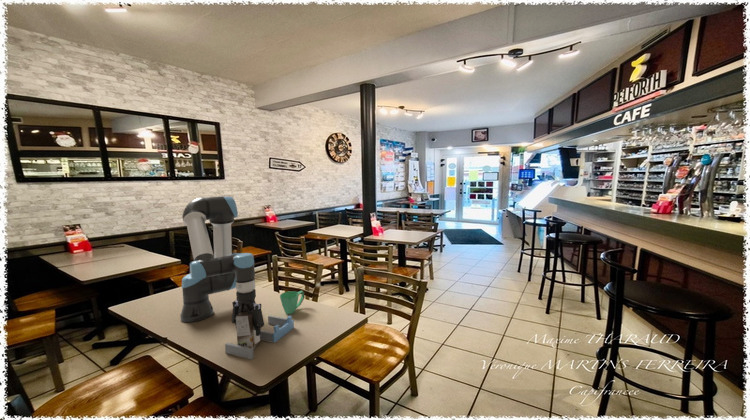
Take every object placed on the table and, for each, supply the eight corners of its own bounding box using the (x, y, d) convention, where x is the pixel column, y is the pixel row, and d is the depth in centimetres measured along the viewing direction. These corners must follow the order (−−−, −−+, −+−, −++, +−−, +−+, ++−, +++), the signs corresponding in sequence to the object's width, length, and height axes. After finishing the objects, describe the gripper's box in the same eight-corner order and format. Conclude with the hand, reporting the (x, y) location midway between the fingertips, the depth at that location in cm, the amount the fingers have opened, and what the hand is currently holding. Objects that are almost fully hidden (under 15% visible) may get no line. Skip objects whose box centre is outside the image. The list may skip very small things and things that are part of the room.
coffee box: (253, 352, 120) (251, 315, 118) (237, 353, 119) (235, 316, 118) (260, 340, 129) (258, 306, 128) (245, 341, 129) (243, 306, 127)
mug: (288, 318, 150) (287, 299, 149) (277, 313, 156) (276, 295, 155) (309, 308, 162) (309, 290, 161) (298, 303, 168) (298, 287, 167)
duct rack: (225, 352, 120) (224, 338, 119) (269, 323, 145) (269, 310, 144) (253, 359, 115) (252, 344, 114) (293, 327, 140) (293, 314, 139)
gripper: (219, 290, 122) (223, 340, 124) (259, 296, 115) (262, 349, 117) (234, 284, 129) (237, 332, 131) (271, 289, 122) (274, 340, 124)
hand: (248, 340), depth 124 cm, fingers closed on coffee box, 8 cm apart
